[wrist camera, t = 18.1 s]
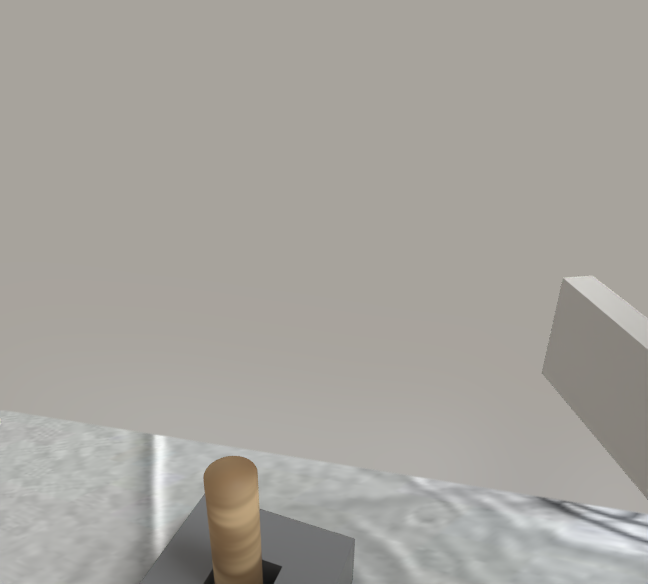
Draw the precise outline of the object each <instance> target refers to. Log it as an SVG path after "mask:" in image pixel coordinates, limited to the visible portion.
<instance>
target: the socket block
mask: <svg viewBox="0 0 648 584" xmlns="http://www.w3.org/2000/svg"><path fill="white" fill-rule="evenodd" d="M259 513H260V533H261V552H262V572H263V584H351V582H352V580H353V566H354V546H355V539H354V538H351V537H348V536H344V535H341V534H338V533H335V532H332V531H328V530H325V529H322V528H319V527H316V526H313V525H309V524H306V523H303V522H300V521H297V520H294V519H290V518H287V517H284V516H281V515H278V514H274V513H271V512H268V511H265V510H262V509H259ZM140 584H215V581H214V572H213V563H212V553H211V544H210V535H209V525H208V516H207V507H206V497H205V494H204V495H203V497H202V498H201V500H200V501H199V502H198V504H197V505H196V506H195V508H194V509H193V511H192V512H191V513H190V515H189V516H188V517H187V519H186V520H185V522H184V523H183V524H182V526H181V527H180V529H179V530H178V531H177V533H176V534H175V535H174V537H173V538H172V540H171V541H170V542H169V544H168V545H167V546H166V548H165V549H164V551H163V552H162V553H161V555H160V556H159V558H158V559H157V560H156V562H155V563H154V564H153V566H152V567H151V569H150V570H149V571H148V573H147V574H146V575H145V577H144V578H143V580H142V581H141V582H140Z"/></svg>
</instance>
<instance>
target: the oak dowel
mask: <svg viewBox="0 0 648 584" xmlns="http://www.w3.org/2000/svg"><path fill="white" fill-rule="evenodd" d="M204 488H205V497H206V507H207V516H208V525H209V535H210V544H211V553H212V563H213V572H214V581H215V584H263V572H262V552H261V533H260V513H259V493H258V473H257V468H256V466H255V465H254V463H253V462H251V461H250V460H249V459H247V458H244V457H240V456H228V457H223V458H220V459H218V460H216V461H214V462H213V463H212V464H210V465H209V466H208V468H207V469H206V471H205V473H204Z"/></svg>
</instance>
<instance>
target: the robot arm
mask: <svg viewBox="0 0 648 584" xmlns="http://www.w3.org/2000/svg"><path fill="white" fill-rule="evenodd" d="M542 374H543V375H544V376H545V377H546V379H547V380H548V381H549V382H550V383H551V385H552V386H553V387H554V388H555V389H556V391H557V392H558V393H559V394H560V395H561V397H562V398H563V399H564V400H565V401H566V403H567V404H568V405H569V406H570V407H571V409H572V410H573V411H574V412H575V413H576V415H577V416H578V417H579V418H580V419H581V420H582V422H583V423H584V424H585V425H586V426H587V428H588V429H589V430H590V431H591V432H592V434H593V435H594V436H595V437H596V438H597V440H598V441H599V442H600V443H601V444H602V446H603V447H604V448H605V449H606V450H607V452H608V453H609V454H610V455H611V456H612V458H613V459H614V460H615V461H616V462H617V463H618V465H619V466H620V467H621V468H622V469H623V471H624V472H625V473H626V474H627V475H628V477H629V478H630V479H631V480H632V481H633V483H634V484H635V485H636V486H637V487H638V489H639V490H640V491H641V492H642V493H643V494H644V496H645V497H646V498H647V499H648V318H646V317H645V316H644V315H643V314H641V313H640V312H639V311H637V310H636V309H635V308H634V307H632V306H631V305H630V304H628V303H627V302H626V301H624V300H623V299H622V298H621V297H619V296H618V295H617V294H616V293H614V292H613V291H612V290H610V289H609V288H608V287H607V286H605V285H604V284H603V283H601V282H600V281H599V280H597V279H596V278H595V277H594V276H582V277H566V278H563V280H562V284H561V289H560V293H559V298H558V302H557V307H556V311H555V316H554V320H553V325H552V329H551V334H550V338H549V343H548V347H547V352H546V356H545V361H544V365H543V370H542ZM1 423H2V422H1V419H0V425H1Z"/></svg>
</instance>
